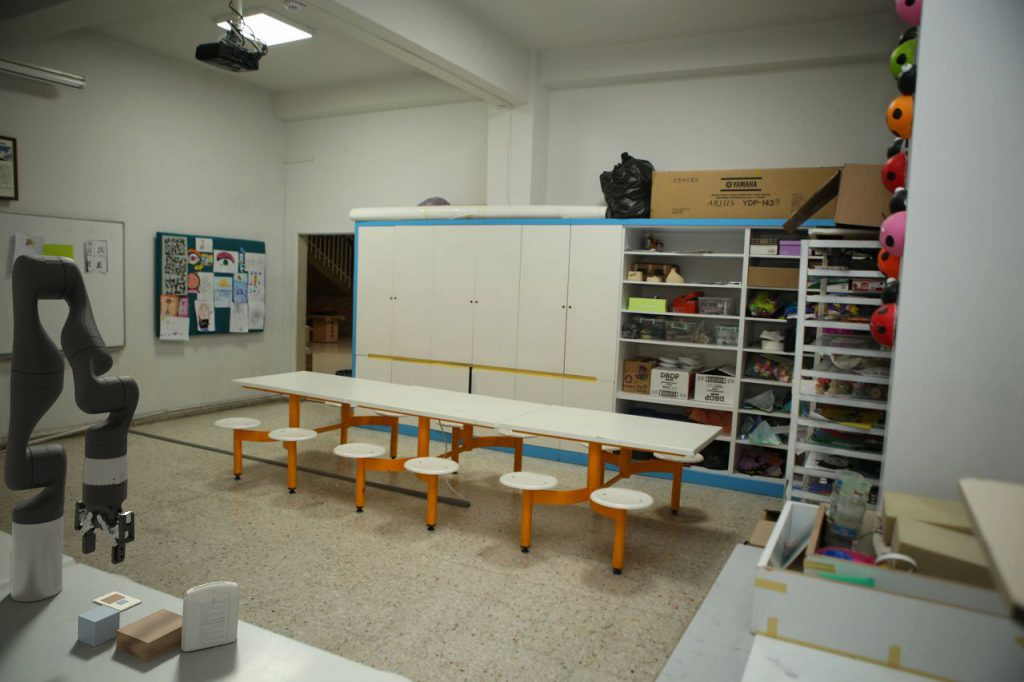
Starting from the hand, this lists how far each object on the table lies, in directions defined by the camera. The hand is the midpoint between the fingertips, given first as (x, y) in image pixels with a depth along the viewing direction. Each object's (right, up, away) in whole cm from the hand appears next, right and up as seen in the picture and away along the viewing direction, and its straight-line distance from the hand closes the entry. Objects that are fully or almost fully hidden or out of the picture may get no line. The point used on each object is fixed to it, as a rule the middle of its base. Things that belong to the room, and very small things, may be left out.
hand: (103, 557), depth 127 cm
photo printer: (+20, -18, +1) cm, 27 cm away
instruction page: (-6, -15, +15) cm, 22 cm away
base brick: (+10, -17, 0) cm, 20 cm away
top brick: (-1, -16, +1) cm, 16 cm away
